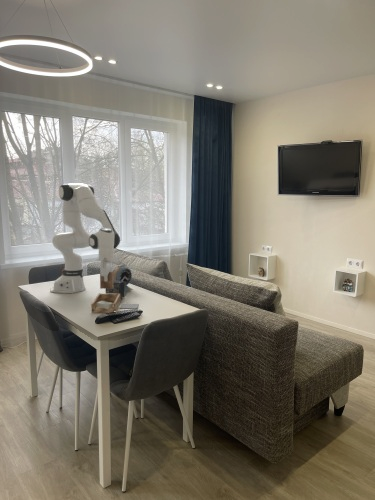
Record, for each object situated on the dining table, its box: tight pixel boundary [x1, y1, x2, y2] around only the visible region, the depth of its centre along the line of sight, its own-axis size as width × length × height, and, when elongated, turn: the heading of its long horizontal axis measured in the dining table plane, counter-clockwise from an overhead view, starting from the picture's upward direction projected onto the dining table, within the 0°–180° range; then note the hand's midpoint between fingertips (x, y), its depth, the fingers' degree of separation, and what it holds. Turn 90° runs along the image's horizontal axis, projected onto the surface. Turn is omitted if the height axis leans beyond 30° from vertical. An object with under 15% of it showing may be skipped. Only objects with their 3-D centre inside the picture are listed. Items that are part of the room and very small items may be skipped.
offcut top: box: [97, 301, 114, 309], centre depth 205 cm, size 8×4×2 cm, turn 62°
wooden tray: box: [91, 293, 121, 314], centre depth 212 cm, size 13×21×5 cm, turn 3°
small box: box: [105, 280, 125, 300], centre depth 231 cm, size 11×6×10 cm, turn 71°
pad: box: [119, 303, 140, 310], centre depth 214 cm, size 10×8×1 cm
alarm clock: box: [112, 264, 134, 293], centre depth 248 cm, size 14×10×18 cm
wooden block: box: [99, 271, 113, 290], centre depth 213 cm, size 7×3×9 cm, turn 90°
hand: (106, 280), depth 213 cm, fingers closed on wooden block, 3 cm apart
